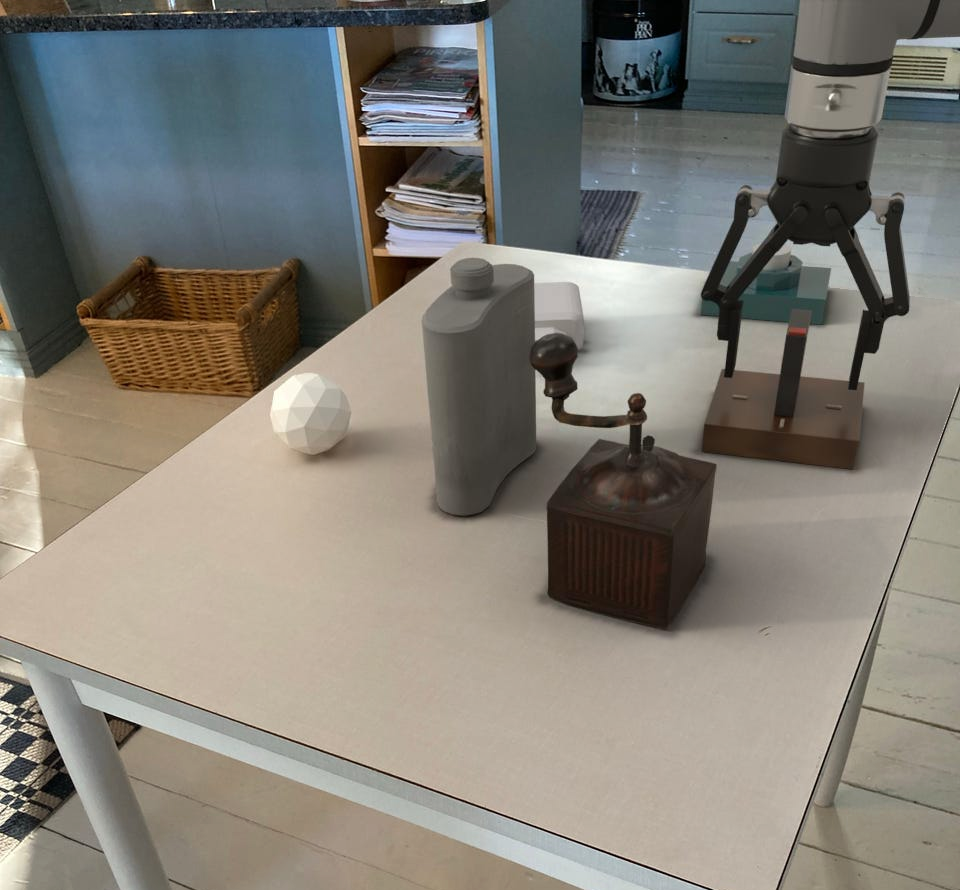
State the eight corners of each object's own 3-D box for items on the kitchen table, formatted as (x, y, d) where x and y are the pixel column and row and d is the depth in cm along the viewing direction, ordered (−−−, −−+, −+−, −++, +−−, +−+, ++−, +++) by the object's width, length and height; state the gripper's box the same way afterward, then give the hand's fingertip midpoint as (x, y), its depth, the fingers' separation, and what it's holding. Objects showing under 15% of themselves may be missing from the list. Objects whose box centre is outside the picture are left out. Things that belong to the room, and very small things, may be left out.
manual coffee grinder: (712, 556, 86) (737, 352, 74) (668, 633, 78) (688, 421, 67) (543, 515, 92) (542, 320, 80) (487, 583, 84) (476, 380, 73)
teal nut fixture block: (827, 292, 127) (834, 251, 123) (821, 325, 119) (828, 282, 116) (712, 283, 130) (716, 243, 127) (700, 314, 123) (704, 273, 120)
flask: (490, 433, 103) (481, 230, 91) (544, 443, 101) (542, 237, 88) (419, 508, 93) (398, 292, 81) (477, 522, 91) (464, 302, 78)
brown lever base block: (858, 409, 104) (865, 380, 102) (853, 469, 95) (859, 439, 93) (718, 395, 107) (721, 366, 105) (700, 451, 99) (704, 422, 97)
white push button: (790, 260, 123) (793, 243, 122) (786, 274, 120) (789, 256, 118) (752, 257, 124) (755, 240, 123) (748, 271, 121) (750, 253, 120)
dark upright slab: (779, 387, 102) (792, 306, 96) (798, 388, 101) (812, 307, 96) (773, 415, 97) (786, 332, 92) (793, 417, 97) (807, 334, 92)
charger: (502, 379, 112) (501, 323, 124) (587, 376, 112) (578, 320, 124) (501, 338, 109) (500, 284, 121) (587, 334, 109) (579, 281, 120)
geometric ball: (306, 481, 103) (248, 438, 97) (312, 419, 107) (256, 374, 101) (365, 453, 100) (308, 407, 94) (368, 390, 103) (314, 342, 98)
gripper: (680, 132, 84) (661, 382, 98) (987, 144, 78) (919, 408, 92) (694, 109, 89) (675, 349, 103) (983, 118, 83) (920, 372, 97)
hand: (790, 377), depth 98 cm, fingers open, 11 cm apart
